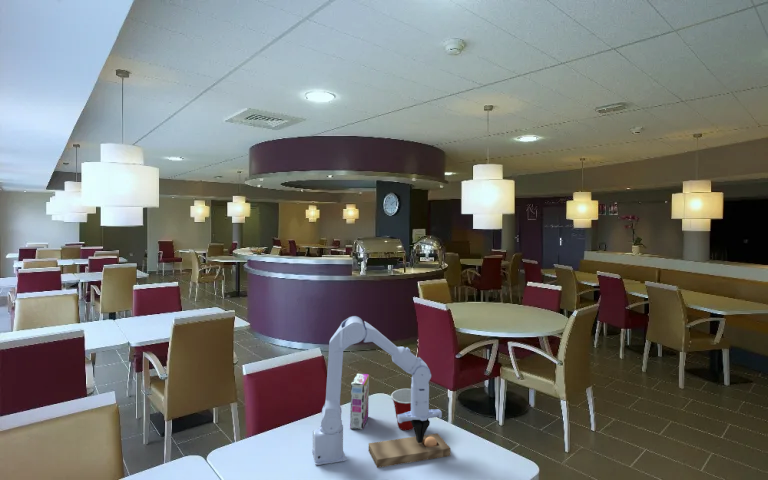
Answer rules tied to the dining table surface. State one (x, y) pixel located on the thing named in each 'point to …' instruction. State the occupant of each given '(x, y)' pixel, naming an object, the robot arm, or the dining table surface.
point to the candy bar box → (359, 401)
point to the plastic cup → (402, 406)
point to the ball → (430, 442)
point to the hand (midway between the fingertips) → (419, 441)
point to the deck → (406, 451)
